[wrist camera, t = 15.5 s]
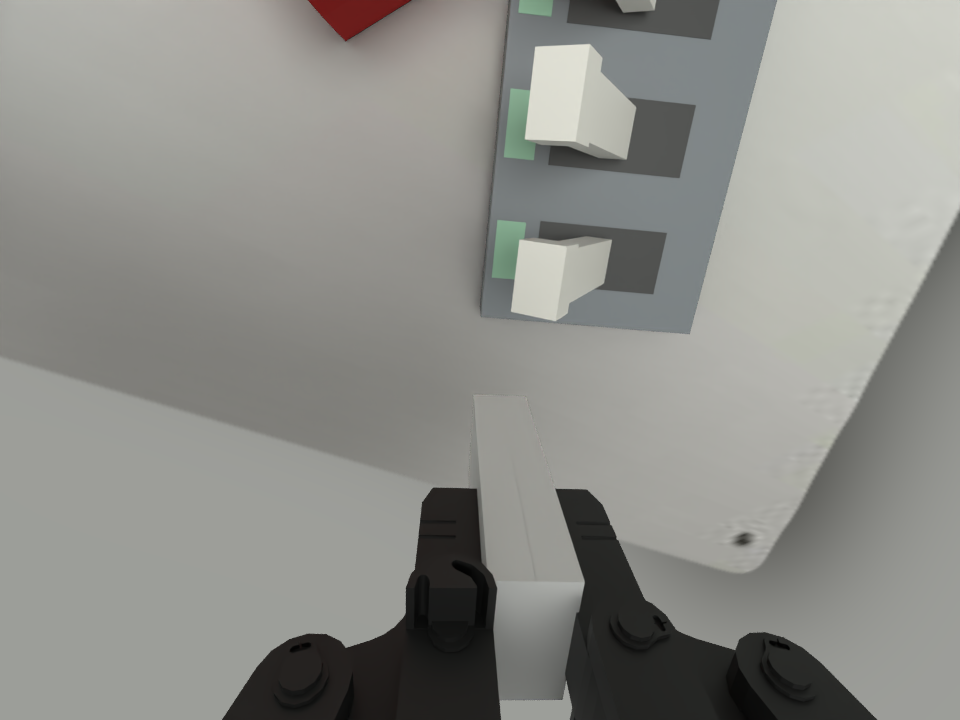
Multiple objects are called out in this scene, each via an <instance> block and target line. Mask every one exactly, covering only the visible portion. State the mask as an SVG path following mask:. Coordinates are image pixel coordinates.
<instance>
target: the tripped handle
mask: <svg viewBox="0 0 960 720" xmlns="http://www.w3.org/2000/svg"><path fill="white" fill-rule="evenodd" d="M611 243H612V240H611V239H604V238H596V237H588V236H585V237H579V238H573V239H567V240H561V241H554V240H547V239H540V238H528V239H520V240H519V247H518V256H517V264H516V273H515V281H514V290H513V298H512V307H511V312H514V313H519V314H524V315H528V316H533V317H538V318H543V319H547V320H552V321H557V320H558V319H560V318H562V317H563V316H565V315H566V314H568V308H569V303H571V302H573V301H574V300H576V299H578V298H580V297H581V296H583V295H585V294H586V293H588V292H590V291H592V290H593V289H595V288H597V287H599V286H600V285H602V284H604V280H605V275H606V270H607V264H608V259H609V254H610V248H611Z"/></svg>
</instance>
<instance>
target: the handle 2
mask: <svg viewBox="0 0 960 720" xmlns="http://www.w3.org/2000/svg"><path fill="white" fill-rule="evenodd" d="M616 2H617V3H618V5H619V7H620V8H621V10H622V12H623V13H626V12H640V11H653V10H655V4H656V0H616Z"/></svg>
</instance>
